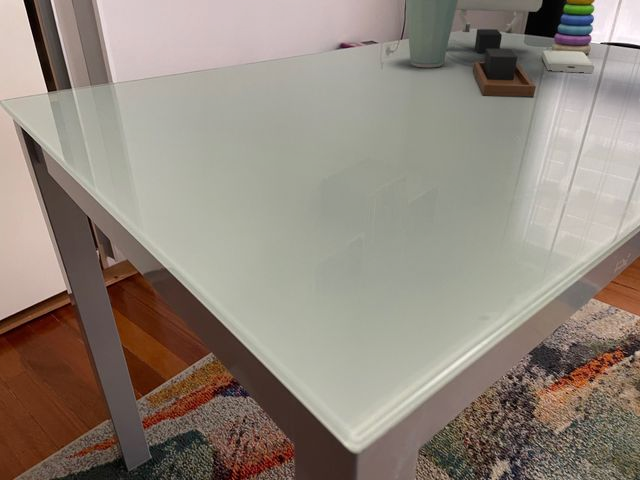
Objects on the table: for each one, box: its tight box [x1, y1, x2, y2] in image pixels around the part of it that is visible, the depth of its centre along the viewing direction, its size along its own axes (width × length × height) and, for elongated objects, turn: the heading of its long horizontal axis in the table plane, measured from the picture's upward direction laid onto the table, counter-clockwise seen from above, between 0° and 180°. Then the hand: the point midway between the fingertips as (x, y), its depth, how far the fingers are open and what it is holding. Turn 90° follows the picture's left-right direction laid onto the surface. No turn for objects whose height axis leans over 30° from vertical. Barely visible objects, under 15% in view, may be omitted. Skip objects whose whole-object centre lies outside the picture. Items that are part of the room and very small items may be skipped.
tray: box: [472, 61, 537, 97], centre depth 94 cm, size 8×17×2 cm, turn 172°
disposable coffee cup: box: [405, 0, 458, 68], centre depth 103 cm, size 11×11×15 cm
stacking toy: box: [551, 0, 596, 55], centre depth 112 cm, size 8×8×19 cm
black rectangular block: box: [483, 48, 518, 80], centre depth 96 cm, size 4×7×4 cm, turn 172°
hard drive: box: [541, 49, 595, 74], centre depth 106 cm, size 2×8×12 cm
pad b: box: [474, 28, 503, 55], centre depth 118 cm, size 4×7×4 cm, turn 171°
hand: (487, 32), depth 117 cm, fingers open, 8 cm apart
